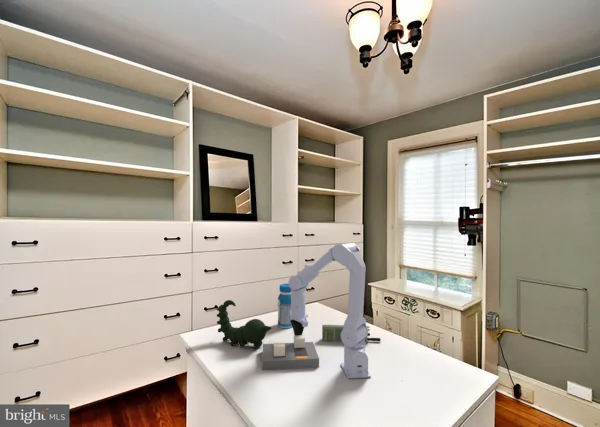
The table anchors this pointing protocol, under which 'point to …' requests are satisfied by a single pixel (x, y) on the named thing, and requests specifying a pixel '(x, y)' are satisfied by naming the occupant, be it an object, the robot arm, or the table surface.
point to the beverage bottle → (284, 306)
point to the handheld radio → (338, 333)
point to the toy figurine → (241, 329)
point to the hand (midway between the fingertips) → (298, 338)
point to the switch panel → (290, 357)
